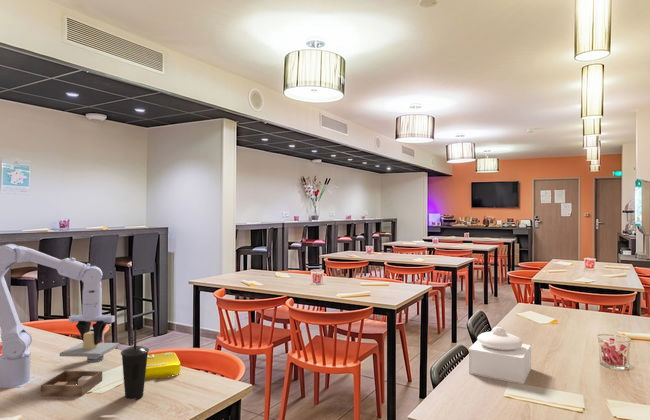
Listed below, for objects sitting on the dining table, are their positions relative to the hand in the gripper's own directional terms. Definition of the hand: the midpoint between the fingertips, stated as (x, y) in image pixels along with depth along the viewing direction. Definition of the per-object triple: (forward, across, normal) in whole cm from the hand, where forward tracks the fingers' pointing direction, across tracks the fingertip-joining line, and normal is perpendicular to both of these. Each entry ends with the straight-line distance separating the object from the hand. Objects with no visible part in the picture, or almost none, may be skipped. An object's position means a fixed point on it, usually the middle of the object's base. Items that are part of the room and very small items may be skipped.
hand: (91, 343), depth 147 cm
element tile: (+11, +20, +4) cm, 23 cm away
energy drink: (+11, -6, +15) cm, 19 cm away
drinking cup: (+11, +22, -17) cm, 30 cm away
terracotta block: (+10, -2, -15) cm, 18 cm away
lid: (+2, 0, 0) cm, 2 cm away
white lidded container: (+11, +140, +9) cm, 141 cm away
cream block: (+10, +3, -10) cm, 14 cm away
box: (+10, +1, -12) cm, 16 cm away
